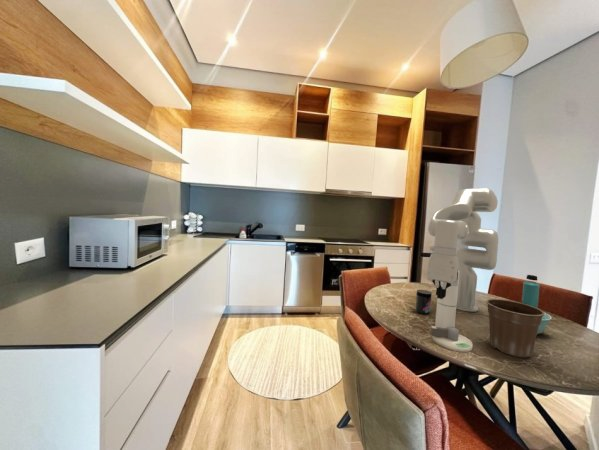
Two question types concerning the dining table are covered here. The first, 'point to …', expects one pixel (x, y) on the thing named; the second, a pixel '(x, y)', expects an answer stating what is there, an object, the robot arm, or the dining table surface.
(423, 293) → the supplement container
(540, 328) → the bowl
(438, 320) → the cylindrical container
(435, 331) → the friction peg
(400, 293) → the dining table surface
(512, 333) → the plant pot
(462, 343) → the dial plate
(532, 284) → the beverage bottle
